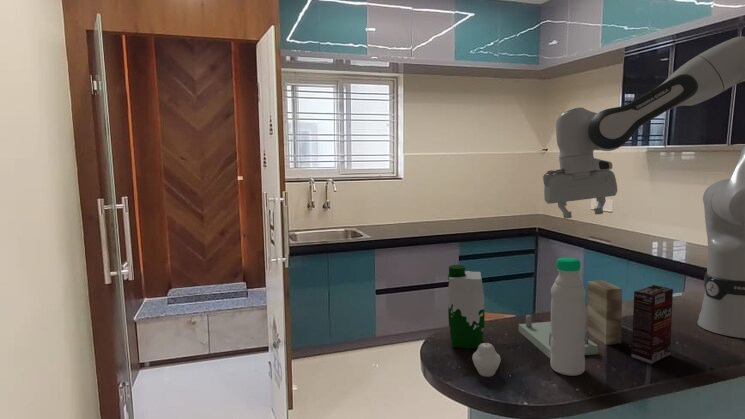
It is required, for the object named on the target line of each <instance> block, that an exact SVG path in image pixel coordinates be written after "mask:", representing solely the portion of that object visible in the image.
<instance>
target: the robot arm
mask: <svg viewBox="0 0 745 419" xmlns="http://www.w3.org/2000/svg"><path fill="white" fill-rule="evenodd" d="M738 84H740V85H741V86H743V87H744V88H745V36H743V35H742V36H741V35H740V36H736V37H733V38H730V39H727V40H726V41H723V42H720V43H719V44H716V45H715V46H712V47H710V48H708V49H707V50H705V51H703V52H701V53H699V54H697V55H695V57H693V58H691V59H690V60H688V61H687V62H685V63H684V64H682V65H681V66H680V67H678V69H676V70H675V71H674V72H672V74H670V75H669V76H668V77H667V78H666V79H665V80H664V81H663V82H662V83H661V84H660V85H658V86H656V87H655V88H654V89H652V90H650V91H648V92H647V93H645V94H643V95H641V96H640V97H638V98H636V99H635V100H632V101H631V102H628V103H627V104H624V105H621V106H616V107H611V108H606V109H604V110H601V111H599V112H594V111H591V110H588V109H585V108H584V107H576V108H573V109H572V108H571V109H569V110H567V111H565V112H563V113H561V114H560V115H559V116H558V118H557V119H556V121H555V134H556V145H557V147H558V150H559V156H558V160H559V169H553V170H552V169H551V170H547V172H545V173H544V174H543V176H542V180H543V184H544V185H543V186H544V187H543V189H544V190H543V191H544V192H543V193H544V194H543V195H544V202H545V203H546V204H548V205H549V204H550V205H551V204H557V206H558V209H560V211H561V212H562V216H563V219H572V211H569V210H568V209H567V208H566V206H567V202H574V201H575V202H577V201H583V200H591V199H595V200H596V203H597V206H596V207H595V208H593V210H594V215H603V214H604V206H605V204H606V203H607V202H606V201H607V200H606V198H607V197H615V196H616V195H617V193H618V184H617V179H616V175H615V172H614V171H612V169H613V163H612V162H611V161H610V160H609V161H608V160H603V159H599V158H596V157H594V156H595V155H594V152H595V151H603V152H611V151H616V150H617V149H619V148H621V147H623V145H625V144H626V143H627V142H628V141H629V140H630V139H631V137H632V136H633V135H634V134H635V132H636V131H637V130H638V129H639V128H640V127H641V126H643V125H645V124H647V123H648V122H651V121H652V120H653V119H655V118H658V117H659V116H661V115H662V114H664V113H666V112H668V111H670V110H672V109H675V108H677V107H682V106H695V105H698V104H700V103H702V102H706V101H708V100H710V99H712V98H714V97H716V96H717V95H720V94H721V93H723V92H725V91H727V90H728V89H729V88H732V87H733V86H736V85H738ZM739 155H740V157H739V160H738V162H737V164H736V165H735V168H734V170H733V173H732V175H731V177H730V178H729V179H728V178H726V179H721V180H718V181H716V182H714V183H712V184H710V185H709V186H708V187H707V188H706V189H705V191H704V193H703V197H702V202H703V208H704V219H705V220H704V222H705V230H706V236H707V263H706V264H707V265H706V267H707V268H706V272H705V273H704V279H703V280H704V281H703V282H704V283H703V285H704V289H705V290H704V295H703V301H702V305H701V309H700V310H701V311H700V312H699V314H698V318H697V321H696V322H697V325H698V326H699V327H701V328H702V329H704V330H706V331H708V332H712V333H715V334H718V335H722V336H723V335H724V336H727V337H733V338H738V339H745V146H743V148H742V150H741V152H740V154H739Z"/></svg>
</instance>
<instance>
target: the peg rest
mask: <svg viewBox="0 0 745 419" xmlns="http://www.w3.org/2000/svg"><path fill="white" fill-rule="evenodd" d="M532 318H533V316H532V315H531V314H526V316H525V323H518V332H519V333H520V334H521V335H522V336H523V337H524V338H526V339H527V340H528V341H529V342H530V343H531V344H533V345H534V346H535V347H536V348H537V349H539V351H541V352H542V353H543V354H544V355H546V357H548V358H549V359H551V337H552V334H551V321H544V322H543V321H542V322H532V321H533V319H532ZM589 335H590V334H589V331H588V330H587V329H585V337H584V341H585V354H584V356H589V355H598V354H599V345H598V344H596V343H595V342H593V341H591V339H590V338H589Z"/></svg>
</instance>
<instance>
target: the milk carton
mask: <svg viewBox="0 0 745 419" xmlns="http://www.w3.org/2000/svg"><path fill="white" fill-rule="evenodd" d="M465 268H466V266H465V265H460V264H458V265H457V264H454V265H449V266H448V290H447V309H448V311H447V314H448V327H449V336H450V341H451V347H452V348H455V349H456V348H459V349H476V350H477V349H478V346H479V345H480V344H482V343H483V337H484V332H485V291H484V285H483V280H482V279H483V278H482V274H481V271H470V270H466V269H465Z"/></svg>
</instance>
